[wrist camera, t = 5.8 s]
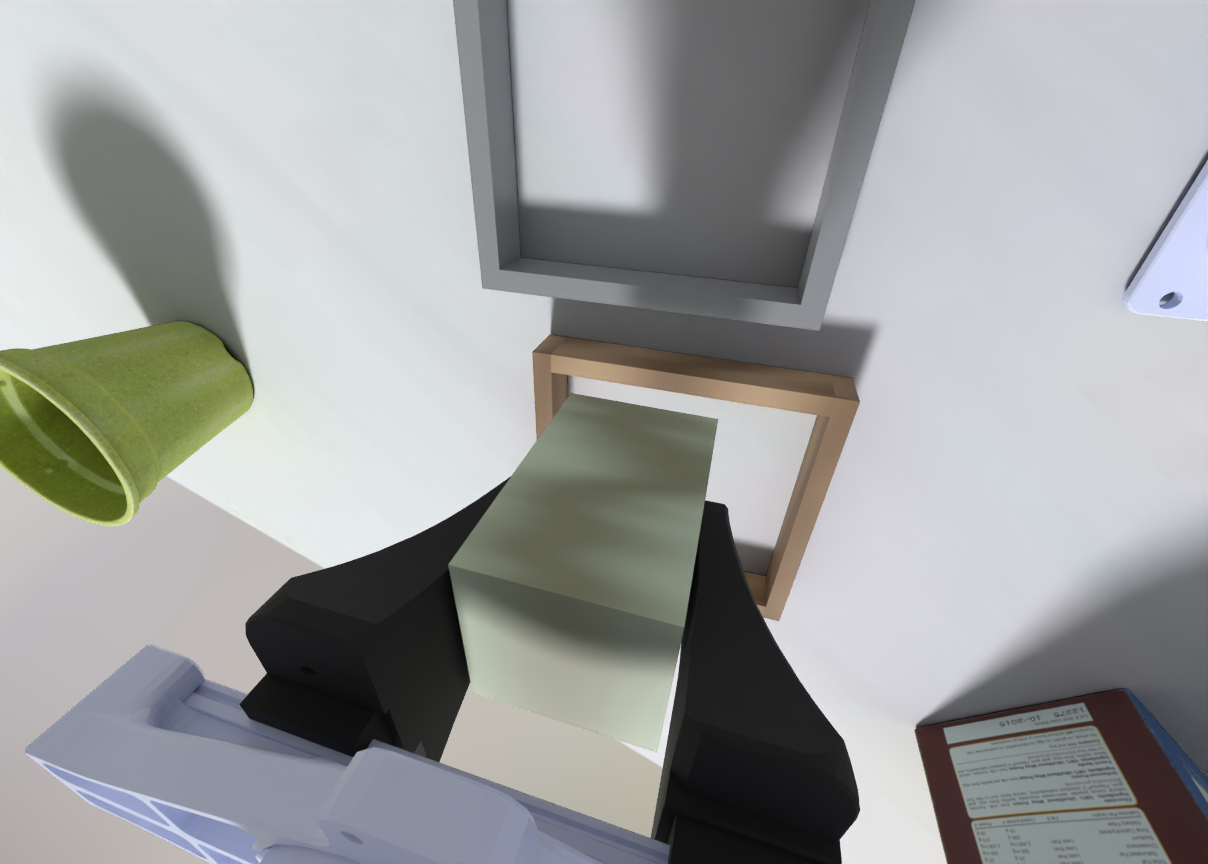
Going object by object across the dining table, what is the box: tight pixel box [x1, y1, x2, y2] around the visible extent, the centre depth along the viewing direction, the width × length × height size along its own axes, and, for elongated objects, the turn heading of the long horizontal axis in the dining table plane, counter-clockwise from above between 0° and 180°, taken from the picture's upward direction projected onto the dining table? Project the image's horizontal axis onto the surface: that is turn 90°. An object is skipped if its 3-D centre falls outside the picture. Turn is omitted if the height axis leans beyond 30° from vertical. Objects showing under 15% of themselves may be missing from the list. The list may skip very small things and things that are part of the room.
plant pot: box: [0, 321, 253, 526], centre depth 26 cm, size 9×9×9 cm
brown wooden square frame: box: [533, 335, 860, 621], centre depth 23 cm, size 13×13×2 cm
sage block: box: [448, 393, 718, 752], centre depth 13 cm, size 4×4×7 cm
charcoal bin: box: [453, 0, 915, 331], centre depth 15 cm, size 13×13×2 cm
